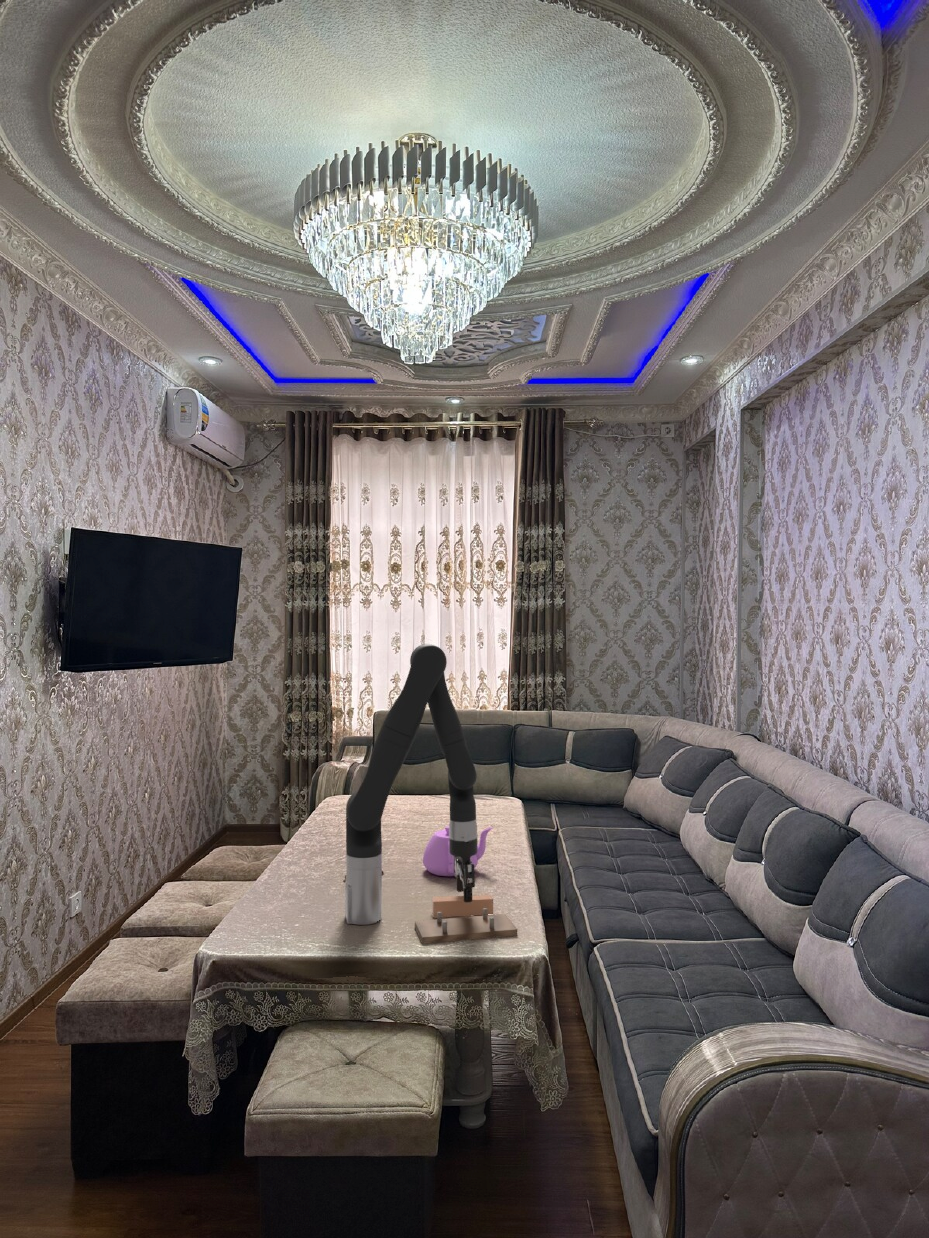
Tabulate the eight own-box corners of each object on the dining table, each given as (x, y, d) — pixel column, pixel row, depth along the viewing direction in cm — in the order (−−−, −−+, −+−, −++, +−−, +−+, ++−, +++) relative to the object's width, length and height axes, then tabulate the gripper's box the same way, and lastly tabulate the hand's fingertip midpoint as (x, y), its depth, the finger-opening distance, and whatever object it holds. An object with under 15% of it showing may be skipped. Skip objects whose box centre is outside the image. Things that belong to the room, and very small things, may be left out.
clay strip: (433, 918, 222) (433, 901, 222) (431, 914, 226) (431, 897, 226) (493, 915, 224) (493, 898, 224) (490, 911, 228) (491, 894, 228)
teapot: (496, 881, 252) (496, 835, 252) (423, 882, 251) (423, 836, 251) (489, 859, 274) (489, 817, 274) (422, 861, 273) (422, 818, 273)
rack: (422, 943, 205) (422, 926, 205) (414, 926, 215) (414, 911, 215) (517, 935, 210) (517, 919, 210) (505, 919, 221) (505, 904, 221)
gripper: (444, 830, 231) (445, 889, 231) (455, 844, 217) (456, 906, 217) (470, 828, 233) (471, 886, 233) (483, 841, 219) (484, 904, 219)
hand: (464, 896), depth 225 cm, fingers open, 8 cm apart
